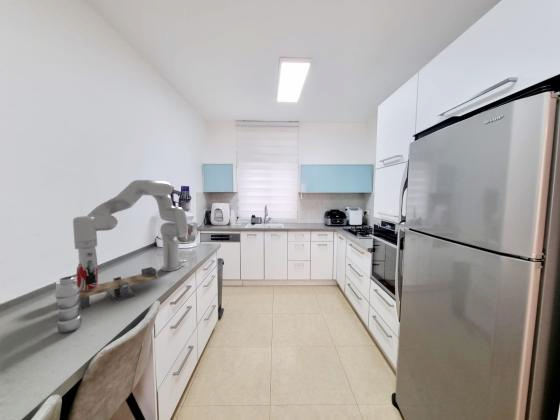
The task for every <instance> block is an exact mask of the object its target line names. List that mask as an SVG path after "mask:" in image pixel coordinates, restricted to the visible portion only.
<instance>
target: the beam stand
mask: <svg viewBox="0 0 560 420" xmlns="http://www.w3.org/2000/svg"><path fill="white" fill-rule="evenodd" d="M119 279H122V277H121V276H118V277H113V279H112V281H115V280H119ZM106 292H107V295H108V296H109V297H110V298H111V299H112V300H113V302H115V303H117V302H120V301H123V300H126V299H129V298H133V297H135V296H136V292H134V291H133V290H132V289H131V288H129V286H128V282H125V283H121V284H120V288H117V289H114V290H110V291H106ZM78 304H79V310H83V309H86V308H90V307H91V305H90V296H87V297H84V298H80V299H79V303H78Z"/></svg>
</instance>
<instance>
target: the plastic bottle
mask: <svg viewBox="0 0 560 420" xmlns="http://www.w3.org/2000/svg"><path fill="white" fill-rule="evenodd" d="M74 277H75V276H71V275H69V276H65V277H61V278H60V279H59V280H60V285H61V286H60V287H59V289H58V290H57V292H56V291H55V296H54V297H55V300H56V303H57V309H58V320H57V323H56V325H57V326H56V328H57V330H58V332H59V333H60V334H61V333H63V334H64V333H66V334H67V333H69V332H73V331H75V330H77V329H78V328H79V327H80V326H81V325H82V321H83V319H82V316H81V313H80V307H79V304H78V303H79V293H80V289H79V287H78V286H77V285H75V284H74V283H73V282H74Z"/></svg>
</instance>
